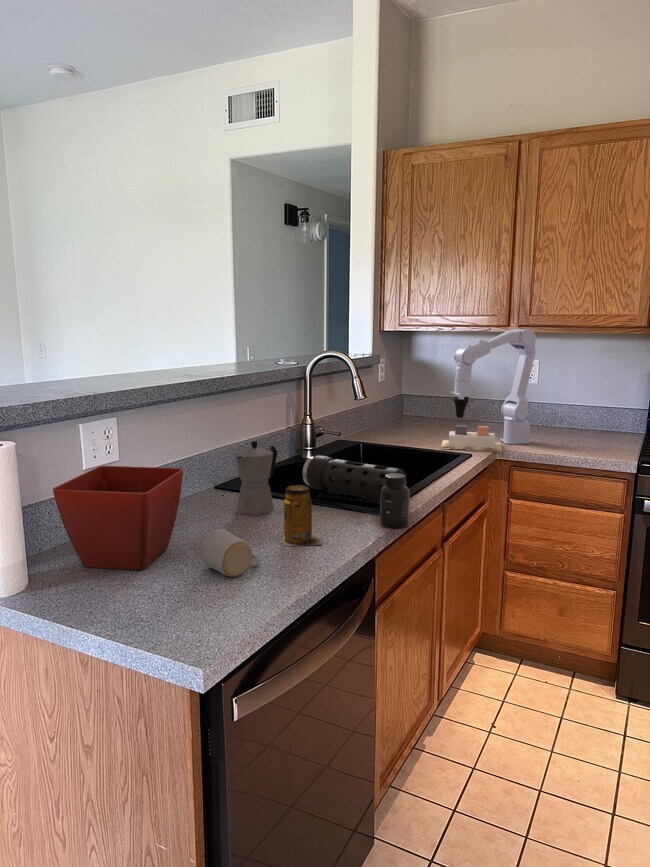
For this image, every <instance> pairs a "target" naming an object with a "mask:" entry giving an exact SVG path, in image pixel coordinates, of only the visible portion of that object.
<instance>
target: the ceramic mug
mask: <svg viewBox="0 0 650 867" xmlns="http://www.w3.org/2000/svg"><path fill="white" fill-rule="evenodd" d="M199 557H200V560H201V561H202V563H203V564H204V565H205V566H207V567H208V568H211V569H212V570H214V571H216V572H219V573H221V574H222V575H224V576H227V577H229V578H231V577H232V578H234V577H239V576H241V575H243V574H244V573H245V572H247V571H248V569H249V567H250V566H251V567H257V566H258V565H259V563H260V558H259V557H258V556H256V555H254V554H253V550H252V547H251V546H250V545H249V544H248V543H247V542H246V541H245V540H244V539H242V538H239V537H238V536H236V535H234V534H233V533H231V532H230V531H227V529H223V528H217V529H214V530H212V531H210V532H208V533H207V534H206V536H204V538H203V540H202V541H201V543H200V548H199Z"/></svg>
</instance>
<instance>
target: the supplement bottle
mask: <svg viewBox="0 0 650 867" xmlns="http://www.w3.org/2000/svg"><path fill="white" fill-rule="evenodd" d="M385 484H386V485H384V486H383V487H382V488H381V493H380V503H379V523H380V525H381V526H382V527H384V528H388V529H393V530H398V529H399V530H400V529H404V528H407V527H408V525H409V523H410V522H409V521H410V496H411V493H410V488H409V487H408V486H407V476H406V474H405V475H403V474H399V473H390V474H386V475H385ZM405 484H406V486H405Z"/></svg>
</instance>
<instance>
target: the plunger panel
mask: <svg viewBox="0 0 650 867" xmlns="http://www.w3.org/2000/svg"><path fill="white" fill-rule="evenodd" d="M495 435H496V434H495V433H494V432H489V433H488V436H477V431H475V432H474V431H473V432H472V431H467V435H456V430H454V431H453V430H450V431H449V434H448V440H449V446H465V447H485V448H494V445H495V442H496V437H495Z"/></svg>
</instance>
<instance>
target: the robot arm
mask: <svg viewBox="0 0 650 867" xmlns="http://www.w3.org/2000/svg"><path fill="white" fill-rule="evenodd" d="M536 340H537V336H536V334H535V333H534V331H533V330H532V329H529V328H525V329H522V328H510V329H509V330H505V331H504V332H503V333H500V334H499V335H496V336H495V337H493V338H491V339H489V340H488V341H487V340H485V339H478V340H477V341H476V342H475V343H473V344H468V345H466V347H465V348H463V347H461V348H459V349H457V350H456V351H455V354H454V355H453V359H454V361H455V367H456V368H455V378H454V379H455V381H454V387H453V388H454V391H450V394H451V395H452V394H453V395H455V396H453V402H454V406H455V415H456V418H457V419H463V418H464V414H465V411H466V408H467V405H468V403H469V401H470V400H469V399H470V397H469V396H470V395H471V381H472V371H473V364H474V363H475V362H476V360H479V359H481V358H483V357H485V356H487V355H489V354H490V353H491V350H492V349H495V348H498V347H500V346H503V345H505V344H509V345H510V346H512V347H513V348H514V349H515V350H516V351H517V352H518V354H519V358H518V361H517V362H518V363H517V367H516V370H515V374H514V377H513V378H514V379H513V383H512V388H511V392H510V394H509V395H508V396H507V397H505V400H504V402H503V403H502V405H501V408H500V412H501V413H500V414H502V416H503V419H504V423H503V424H504V425H503V427H504V428H503V437H502V438H499V441H501V442H502V441H503V443H504V444H507V445H509V444H510V445H513V444H515V445H519V444H520V445H526V444H527V445H530V438H531V437H530V436H531V424H530V421H529V420H528V419H526V418H527V417H528V415H529V401H528V399H527V398H526V396H527V395H526V394H527V391H528V390H527V389H528V386H529V382H530V377H531V375H532V374H531V372H532V371H533V365H534V362H535V356H536V352H537V351H536Z"/></svg>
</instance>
